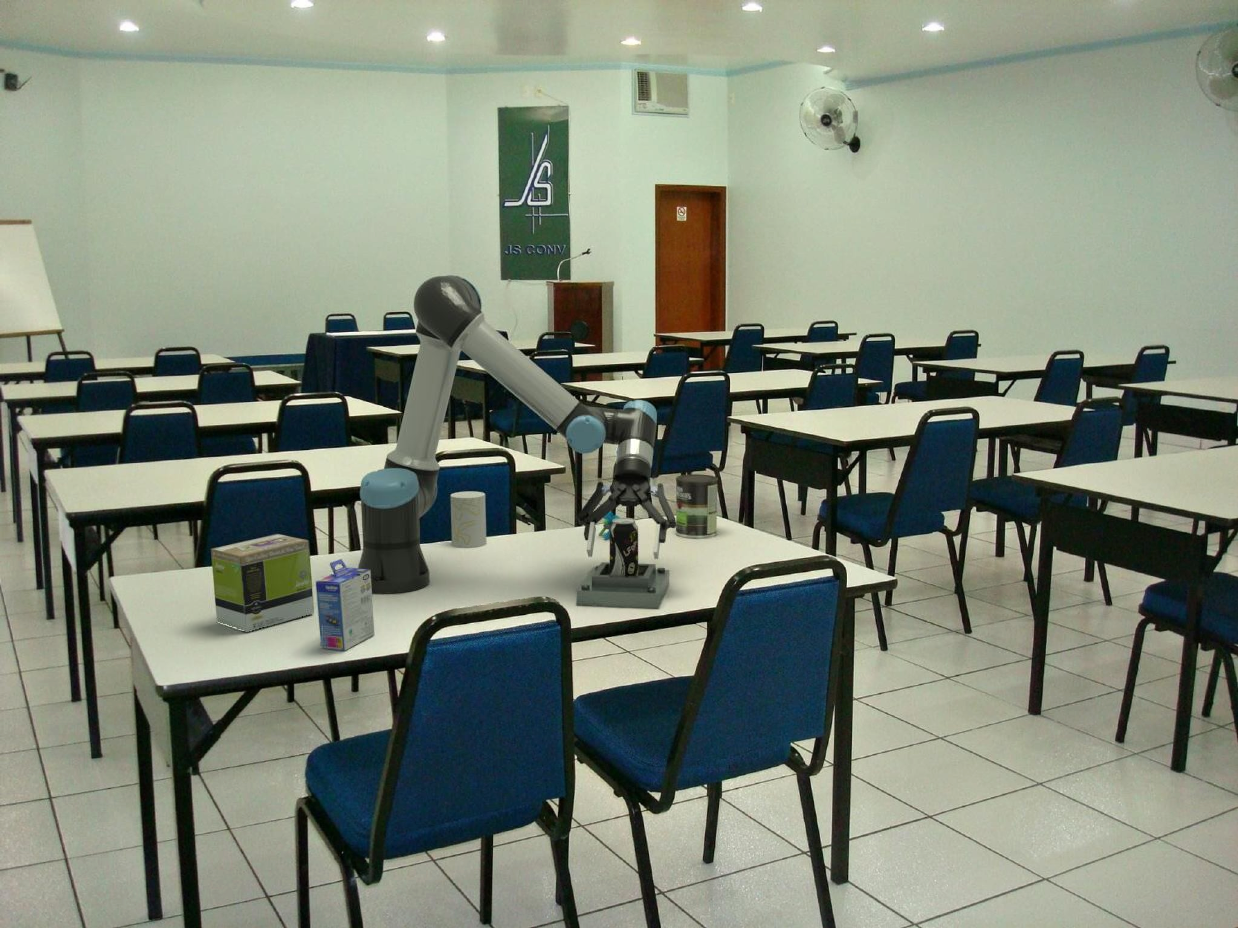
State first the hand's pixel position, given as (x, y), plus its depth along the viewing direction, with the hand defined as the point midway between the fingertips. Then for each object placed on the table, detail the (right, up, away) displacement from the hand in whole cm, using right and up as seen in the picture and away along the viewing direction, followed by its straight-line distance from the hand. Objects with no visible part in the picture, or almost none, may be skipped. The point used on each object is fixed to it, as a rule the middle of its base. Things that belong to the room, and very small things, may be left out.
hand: (622, 554), depth 229 cm
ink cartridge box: (-49, -14, -25) cm, 56 cm away
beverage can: (0, -5, +3) cm, 6 cm away
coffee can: (+18, 0, +57) cm, 60 cm away
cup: (-36, -1, +48) cm, 60 cm away
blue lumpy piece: (-1, 0, +53) cm, 54 cm away
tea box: (-67, -12, -12) cm, 69 cm away
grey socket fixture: (0, -8, +4) cm, 9 cm away
